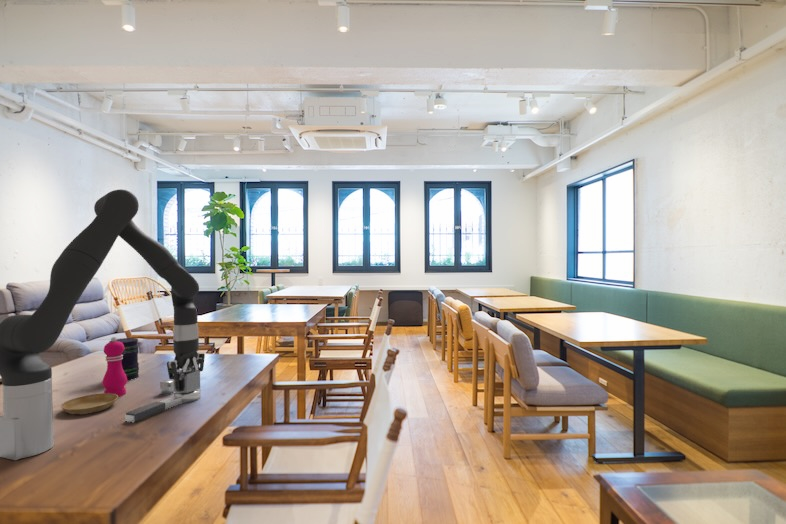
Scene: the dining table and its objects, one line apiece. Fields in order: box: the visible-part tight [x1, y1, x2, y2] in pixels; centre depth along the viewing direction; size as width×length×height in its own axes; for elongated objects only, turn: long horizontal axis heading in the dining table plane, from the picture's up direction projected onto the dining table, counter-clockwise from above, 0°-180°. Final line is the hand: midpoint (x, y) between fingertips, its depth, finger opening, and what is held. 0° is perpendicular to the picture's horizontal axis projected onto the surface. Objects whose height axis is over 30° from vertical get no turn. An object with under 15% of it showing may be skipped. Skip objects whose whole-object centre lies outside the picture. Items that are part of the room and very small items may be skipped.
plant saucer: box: [60, 392, 119, 415], centre depth 134 cm, size 15×15×3 cm
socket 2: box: [172, 368, 201, 393], centre depth 141 cm, size 6×6×7 cm
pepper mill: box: [101, 336, 128, 397], centre depth 147 cm, size 7×7×20 cm
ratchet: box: [124, 388, 202, 424], centre depth 134 cm, size 25×8×6 cm, turn 160°
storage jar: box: [108, 337, 140, 381], centre depth 168 cm, size 10×10×15 cm
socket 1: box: [159, 379, 174, 396], centre depth 148 cm, size 4×4×4 cm
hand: (187, 388), depth 141 cm, fingers closed on socket 2, 5 cm apart
